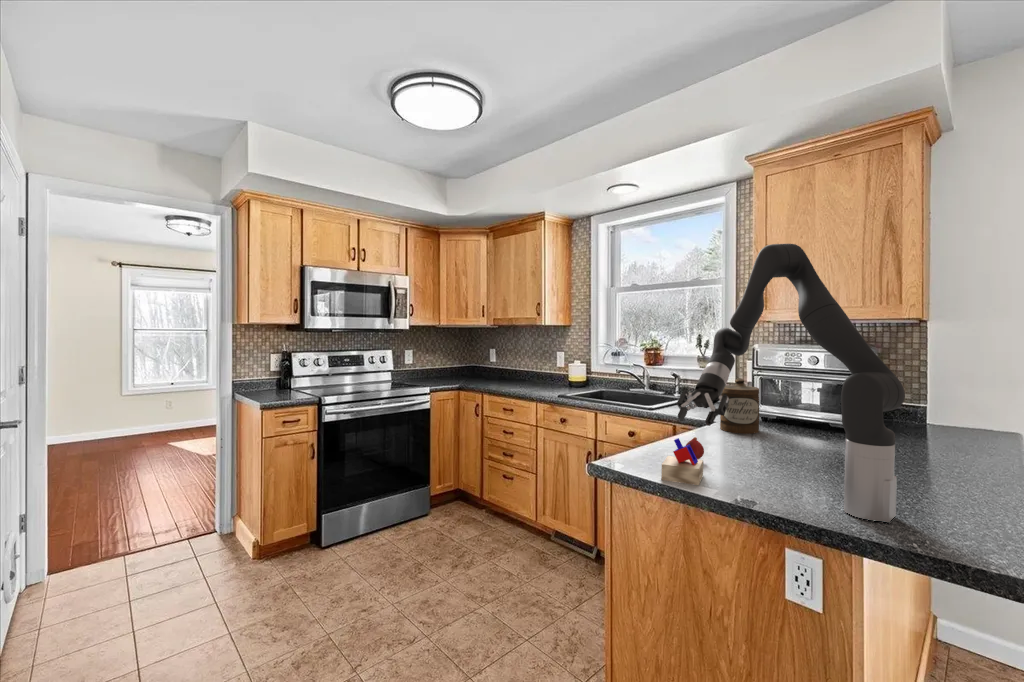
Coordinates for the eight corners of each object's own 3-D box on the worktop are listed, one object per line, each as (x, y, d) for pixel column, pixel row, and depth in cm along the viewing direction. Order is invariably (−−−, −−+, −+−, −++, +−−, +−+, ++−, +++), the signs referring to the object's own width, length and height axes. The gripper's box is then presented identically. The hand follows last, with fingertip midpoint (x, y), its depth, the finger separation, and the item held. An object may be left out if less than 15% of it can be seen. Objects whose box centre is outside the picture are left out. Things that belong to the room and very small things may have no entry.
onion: (691, 464, 153) (692, 439, 153) (680, 460, 159) (681, 435, 159) (707, 463, 155) (707, 438, 155) (696, 458, 160) (696, 434, 160)
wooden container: (722, 432, 200) (723, 379, 199) (718, 425, 214) (719, 375, 213) (762, 435, 195) (763, 380, 195) (755, 427, 210) (756, 376, 209)
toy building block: (684, 466, 142) (672, 440, 144) (698, 461, 140) (685, 435, 142) (681, 468, 139) (668, 442, 141) (695, 464, 137) (681, 437, 139)
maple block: (702, 477, 143) (703, 460, 143) (698, 487, 134) (699, 469, 134) (667, 472, 147) (667, 455, 147) (661, 481, 138) (661, 464, 138)
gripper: (687, 370, 153) (666, 410, 146) (732, 373, 142) (712, 417, 135) (695, 385, 157) (676, 425, 150) (740, 390, 146) (721, 433, 139)
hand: (693, 421), depth 142 cm, fingers open, 8 cm apart
